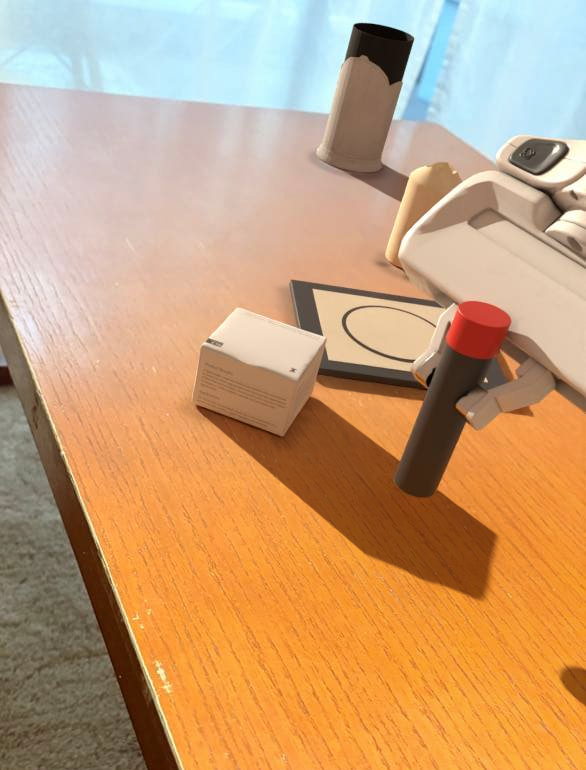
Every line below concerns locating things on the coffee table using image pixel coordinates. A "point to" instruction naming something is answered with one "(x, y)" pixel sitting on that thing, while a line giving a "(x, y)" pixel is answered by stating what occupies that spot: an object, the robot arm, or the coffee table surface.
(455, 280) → the robot arm
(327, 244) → the coffee table surface
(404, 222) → the candle
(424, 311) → the drawing board
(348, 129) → the glass holder
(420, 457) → the marker
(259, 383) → the small box
